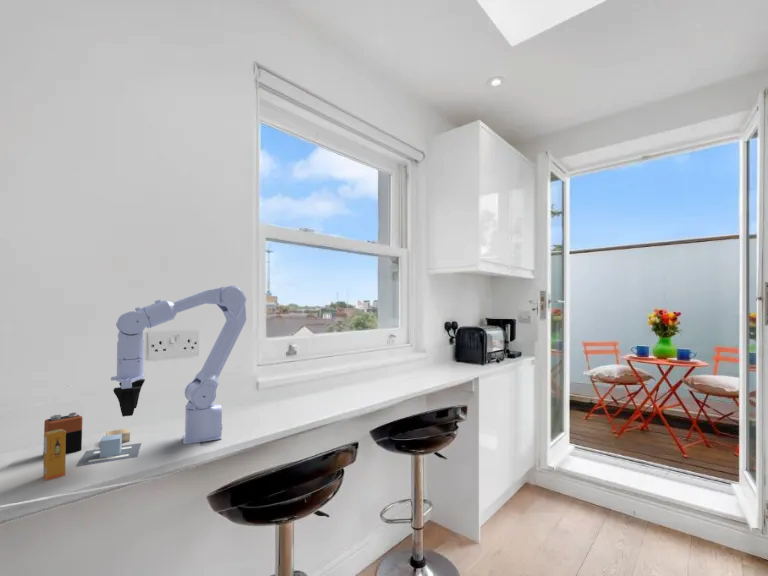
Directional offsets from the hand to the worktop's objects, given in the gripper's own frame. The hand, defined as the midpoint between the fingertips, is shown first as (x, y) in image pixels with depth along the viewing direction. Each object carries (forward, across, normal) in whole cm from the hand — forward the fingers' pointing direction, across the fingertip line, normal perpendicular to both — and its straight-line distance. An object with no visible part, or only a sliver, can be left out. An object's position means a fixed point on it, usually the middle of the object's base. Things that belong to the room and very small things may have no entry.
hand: (129, 411), depth 97 cm
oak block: (+10, -10, -4) cm, 15 cm away
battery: (+10, -7, -15) cm, 19 cm away
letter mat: (+10, 0, -4) cm, 11 cm away
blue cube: (+10, 0, -4) cm, 11 cm away
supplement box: (+10, +9, -13) cm, 19 cm away
